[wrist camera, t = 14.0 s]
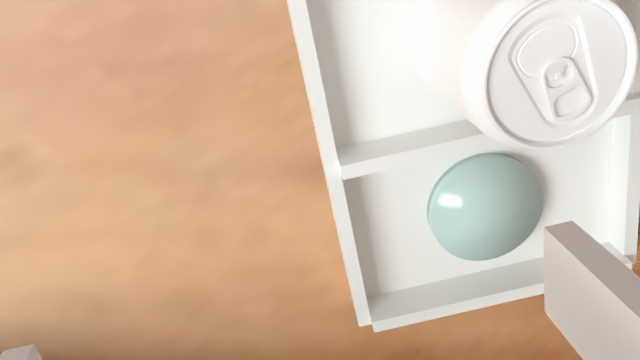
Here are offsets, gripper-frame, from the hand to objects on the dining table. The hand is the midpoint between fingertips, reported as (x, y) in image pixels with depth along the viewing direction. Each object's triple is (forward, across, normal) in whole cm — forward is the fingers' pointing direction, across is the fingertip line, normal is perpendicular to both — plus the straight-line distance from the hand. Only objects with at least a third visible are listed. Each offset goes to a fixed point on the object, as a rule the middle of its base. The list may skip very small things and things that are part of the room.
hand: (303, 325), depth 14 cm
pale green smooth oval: (+23, -14, +11) cm, 29 cm away
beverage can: (+23, -13, -2) cm, 27 cm away
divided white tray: (+24, -14, +5) cm, 28 cm away
